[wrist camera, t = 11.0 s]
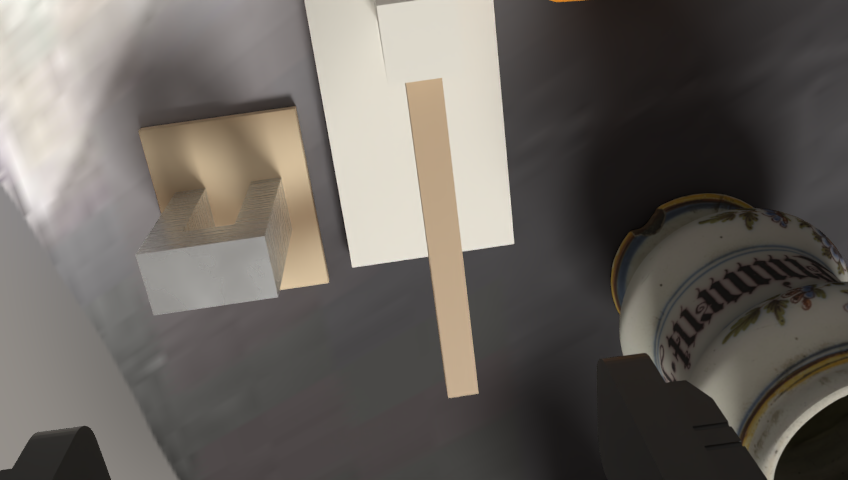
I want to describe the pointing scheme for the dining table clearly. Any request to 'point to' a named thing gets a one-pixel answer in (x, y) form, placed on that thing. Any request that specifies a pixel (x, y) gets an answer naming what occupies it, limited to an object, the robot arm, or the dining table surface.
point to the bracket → (564, 0)
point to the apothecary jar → (745, 324)
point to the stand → (417, 143)
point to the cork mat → (242, 175)
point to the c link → (216, 251)
